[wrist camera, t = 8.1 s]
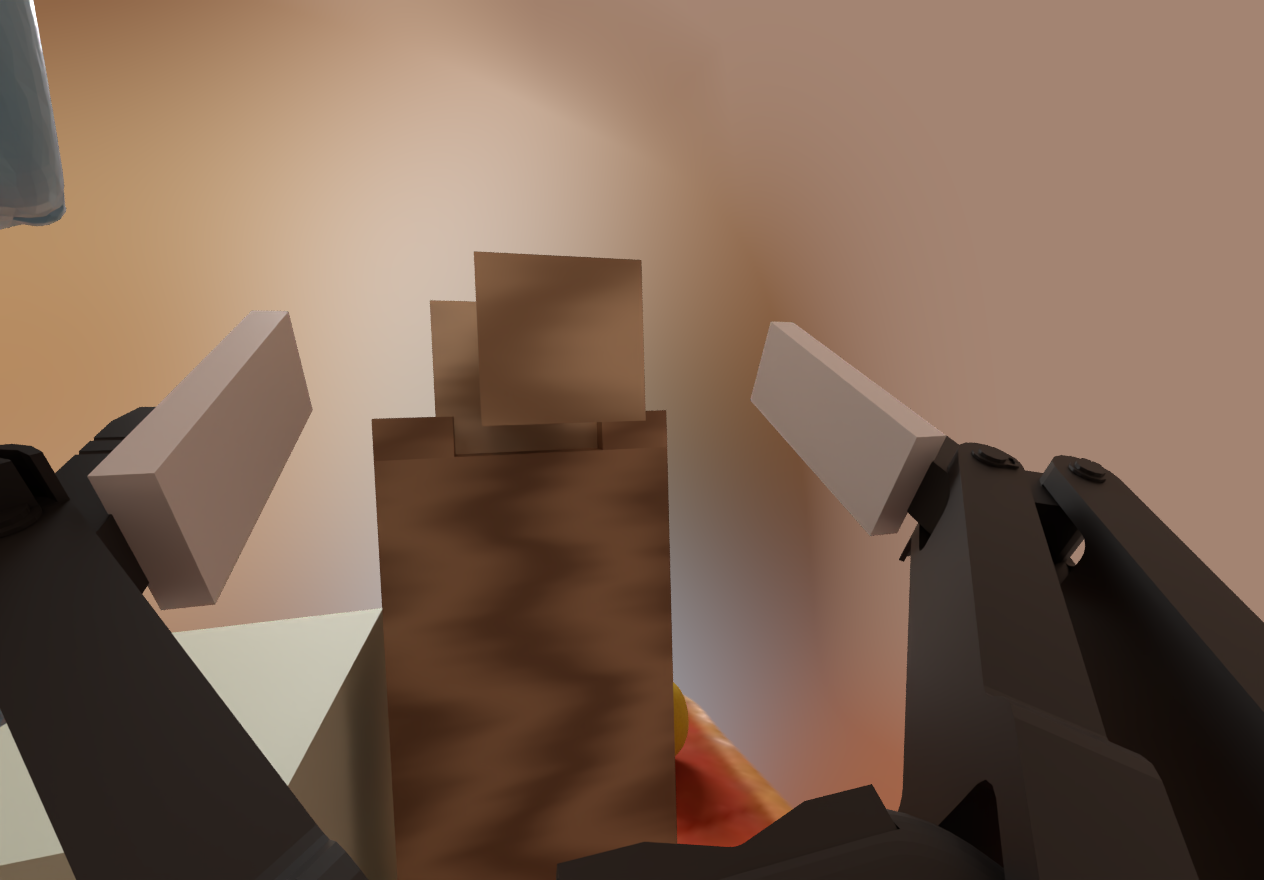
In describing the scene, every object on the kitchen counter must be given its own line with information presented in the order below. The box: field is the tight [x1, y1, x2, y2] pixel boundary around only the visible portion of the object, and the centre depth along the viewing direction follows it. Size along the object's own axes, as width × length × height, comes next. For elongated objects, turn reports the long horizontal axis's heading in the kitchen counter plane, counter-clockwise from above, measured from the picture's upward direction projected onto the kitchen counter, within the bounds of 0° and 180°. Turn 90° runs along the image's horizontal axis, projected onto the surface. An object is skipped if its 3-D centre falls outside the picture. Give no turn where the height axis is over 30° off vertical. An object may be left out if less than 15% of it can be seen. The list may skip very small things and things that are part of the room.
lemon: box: [673, 682, 688, 756], centre depth 47 cm, size 6×6×8 cm
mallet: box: [430, 252, 646, 454], centre depth 20 cm, size 7×19×6 cm, turn 16°
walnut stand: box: [372, 410, 677, 880], centre depth 28 cm, size 11×14×32 cm
